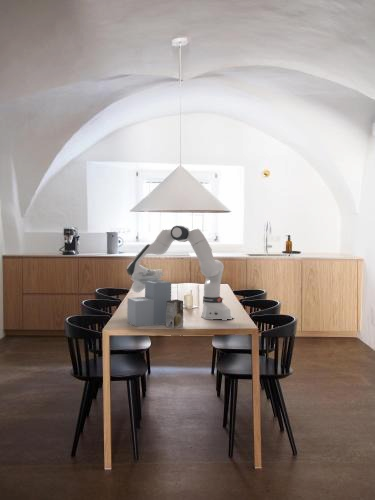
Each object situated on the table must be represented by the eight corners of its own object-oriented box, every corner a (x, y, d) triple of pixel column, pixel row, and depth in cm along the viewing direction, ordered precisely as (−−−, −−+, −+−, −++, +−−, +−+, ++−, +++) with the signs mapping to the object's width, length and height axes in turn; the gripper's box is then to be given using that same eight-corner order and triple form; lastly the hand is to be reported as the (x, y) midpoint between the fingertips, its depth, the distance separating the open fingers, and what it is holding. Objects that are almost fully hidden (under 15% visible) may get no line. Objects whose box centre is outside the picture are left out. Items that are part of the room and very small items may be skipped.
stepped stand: (127, 322, 311) (127, 281, 310) (161, 319, 322) (162, 280, 321) (135, 326, 298) (135, 283, 297) (170, 323, 310) (171, 282, 308)
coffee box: (175, 324, 305) (175, 299, 304) (183, 326, 301) (183, 300, 300) (165, 327, 298) (166, 300, 297) (173, 328, 293) (174, 301, 293)
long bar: (163, 275, 309) (163, 270, 309) (158, 275, 307) (158, 270, 307) (150, 272, 327) (150, 267, 326) (145, 273, 325) (145, 267, 325)
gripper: (128, 275, 330) (135, 266, 319) (156, 274, 339) (163, 266, 328) (130, 284, 327) (136, 275, 316) (157, 282, 337) (165, 274, 326)
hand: (150, 270), depth 322 cm, fingers closed on long bar, 2 cm apart
